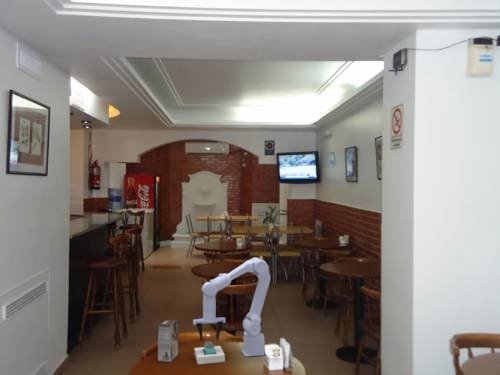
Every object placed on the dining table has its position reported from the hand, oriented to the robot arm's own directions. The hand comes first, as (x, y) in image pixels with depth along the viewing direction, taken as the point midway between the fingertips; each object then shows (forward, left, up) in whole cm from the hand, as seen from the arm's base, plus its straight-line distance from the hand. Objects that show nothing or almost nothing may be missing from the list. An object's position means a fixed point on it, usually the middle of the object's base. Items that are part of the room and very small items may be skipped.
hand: (209, 339), depth 197 cm
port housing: (0, 0, -8) cm, 8 cm away
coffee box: (+18, -5, -9) cm, 21 cm away
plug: (0, 0, -8) cm, 8 cm away
